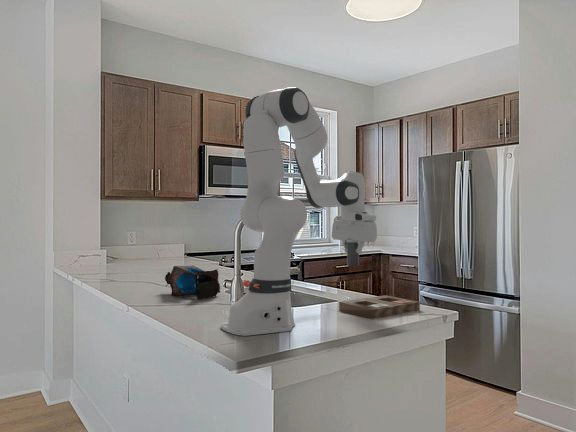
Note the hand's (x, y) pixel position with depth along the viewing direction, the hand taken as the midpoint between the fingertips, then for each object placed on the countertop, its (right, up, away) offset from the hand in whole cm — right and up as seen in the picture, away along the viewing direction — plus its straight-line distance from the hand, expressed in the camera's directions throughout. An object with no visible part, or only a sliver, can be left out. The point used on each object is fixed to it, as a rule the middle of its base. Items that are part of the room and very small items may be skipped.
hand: (353, 253), depth 167 cm
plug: (0, -5, 0) cm, 5 cm away
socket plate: (+8, -20, -7) cm, 23 cm away
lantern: (-65, -19, +19) cm, 70 cm away
